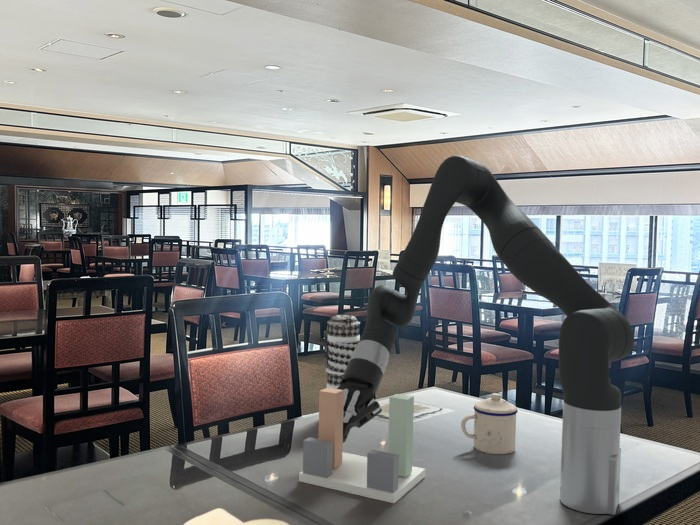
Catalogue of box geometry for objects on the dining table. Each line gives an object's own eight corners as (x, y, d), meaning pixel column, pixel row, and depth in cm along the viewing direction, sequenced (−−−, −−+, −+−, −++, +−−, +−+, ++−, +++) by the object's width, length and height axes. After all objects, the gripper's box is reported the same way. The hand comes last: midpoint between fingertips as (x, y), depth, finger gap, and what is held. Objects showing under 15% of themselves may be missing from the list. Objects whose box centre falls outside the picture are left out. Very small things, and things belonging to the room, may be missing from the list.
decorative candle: (348, 426, 153) (350, 319, 152) (315, 419, 158) (317, 316, 157) (367, 417, 161) (370, 315, 160) (336, 411, 166) (338, 312, 165)
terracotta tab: (342, 463, 124) (343, 390, 123) (334, 468, 121) (335, 393, 121) (326, 460, 126) (327, 387, 125) (318, 464, 123) (319, 390, 122)
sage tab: (412, 471, 120) (413, 396, 120) (405, 477, 118) (407, 399, 117) (394, 468, 122) (396, 393, 121) (387, 473, 119) (389, 397, 119)
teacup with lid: (505, 440, 145) (507, 388, 145) (523, 454, 136) (525, 399, 136) (453, 442, 143) (455, 389, 143) (468, 457, 134) (470, 400, 134)
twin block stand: (425, 476, 123) (426, 437, 123) (394, 503, 111) (395, 459, 110) (336, 458, 132) (337, 421, 131) (298, 481, 120) (299, 440, 119)
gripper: (332, 353, 136) (299, 427, 126) (390, 360, 130) (360, 438, 119) (344, 374, 141) (313, 446, 131) (400, 381, 135) (373, 458, 124)
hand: (336, 442), depth 125 cm, fingers closed
